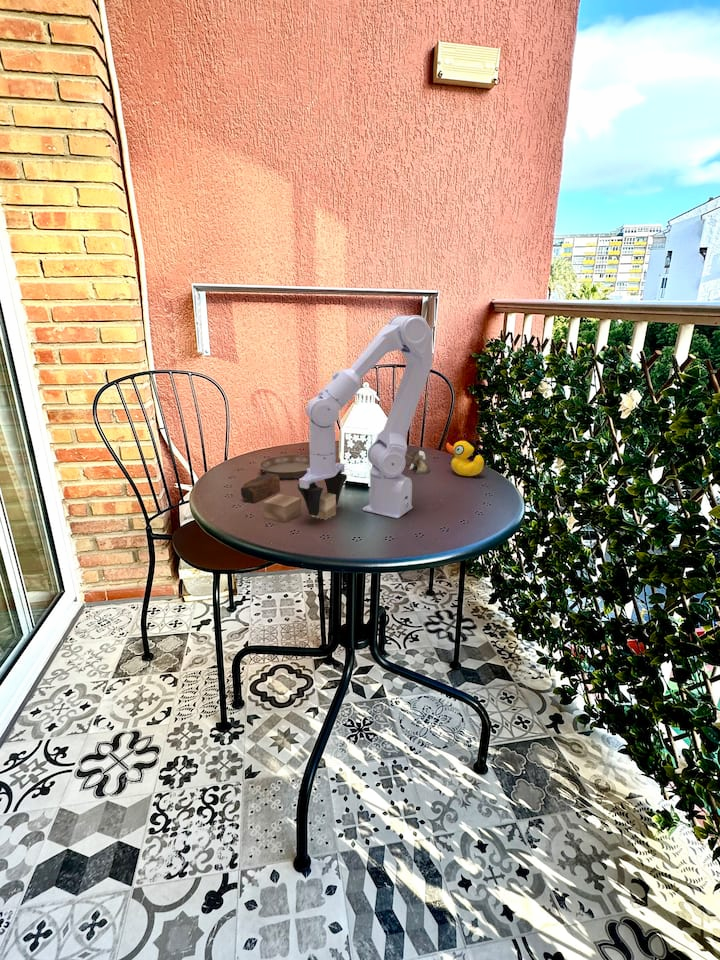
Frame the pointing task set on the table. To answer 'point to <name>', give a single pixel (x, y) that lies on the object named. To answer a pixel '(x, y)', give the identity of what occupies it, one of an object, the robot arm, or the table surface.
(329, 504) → the beech block
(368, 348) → the robot arm
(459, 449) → the duckling
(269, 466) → the plant saucer
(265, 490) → the brick
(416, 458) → the eagle figurine
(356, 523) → the table surface
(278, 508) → the tan wooden block
